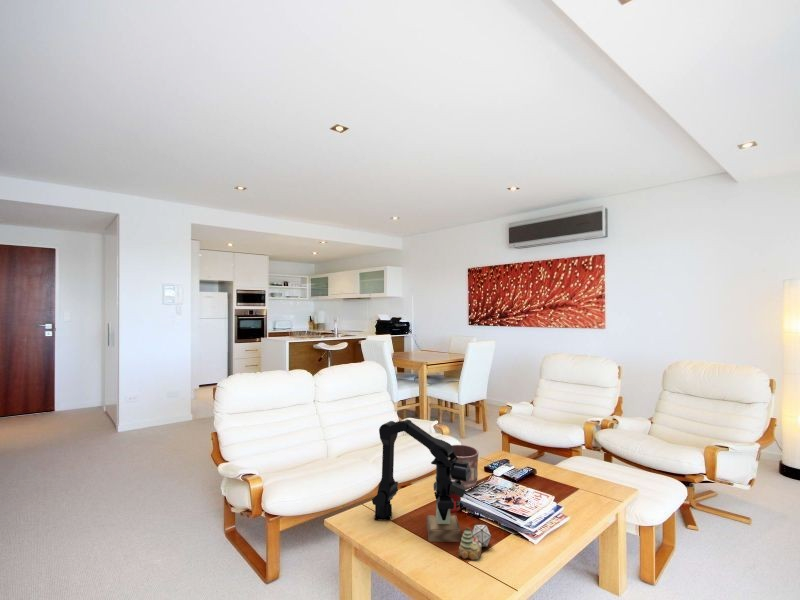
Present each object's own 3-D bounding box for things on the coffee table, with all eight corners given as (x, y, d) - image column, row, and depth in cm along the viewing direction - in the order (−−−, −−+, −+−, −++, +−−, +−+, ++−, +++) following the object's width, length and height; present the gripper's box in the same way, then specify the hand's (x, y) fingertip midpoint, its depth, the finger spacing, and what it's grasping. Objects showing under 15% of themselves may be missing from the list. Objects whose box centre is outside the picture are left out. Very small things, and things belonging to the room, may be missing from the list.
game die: (483, 559, 158) (486, 546, 152) (463, 544, 162) (465, 531, 156) (495, 539, 164) (498, 526, 158) (475, 525, 168) (478, 512, 162)
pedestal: (428, 541, 163) (428, 530, 163) (426, 525, 175) (426, 514, 175) (460, 541, 163) (460, 530, 163) (456, 525, 175) (456, 514, 175)
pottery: (434, 486, 213) (434, 449, 213) (457, 476, 225) (458, 442, 225) (462, 498, 200) (463, 459, 200) (485, 488, 212) (486, 451, 212)
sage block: (437, 523, 167) (437, 510, 167) (436, 517, 172) (436, 504, 172) (450, 524, 167) (450, 511, 167) (448, 517, 172) (448, 505, 172)
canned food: (460, 513, 185) (460, 487, 186) (441, 511, 187) (441, 485, 187) (461, 505, 193) (461, 480, 193) (443, 503, 195) (443, 478, 195)
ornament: (481, 552, 156) (481, 524, 156) (481, 562, 150) (481, 533, 150) (459, 549, 158) (459, 522, 158) (458, 559, 152) (458, 530, 152)
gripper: (467, 486, 160) (467, 529, 160) (460, 467, 179) (460, 505, 178) (437, 486, 160) (437, 528, 160) (433, 467, 179) (433, 505, 178)
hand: (443, 516), depth 169 cm, fingers open, 5 cm apart
